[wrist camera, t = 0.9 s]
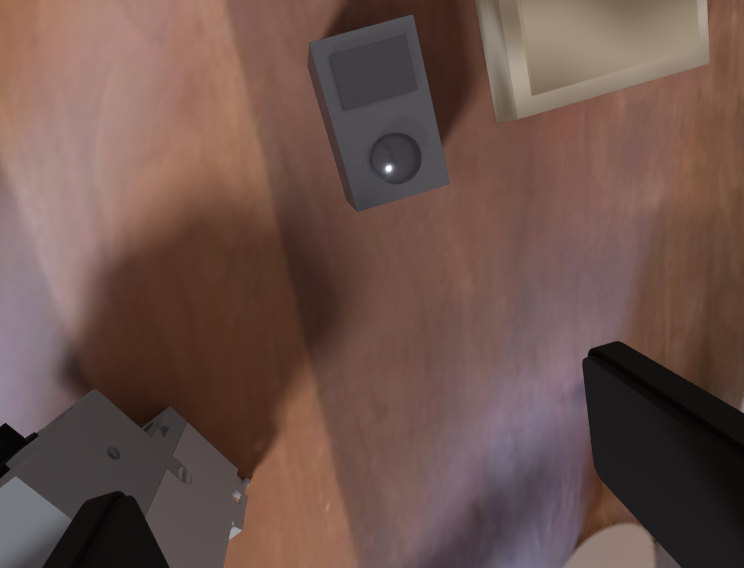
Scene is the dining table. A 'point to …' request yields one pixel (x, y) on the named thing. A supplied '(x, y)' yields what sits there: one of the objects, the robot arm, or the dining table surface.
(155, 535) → the circuit breaker
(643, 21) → the stand
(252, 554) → the dining table surface
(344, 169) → the housing
